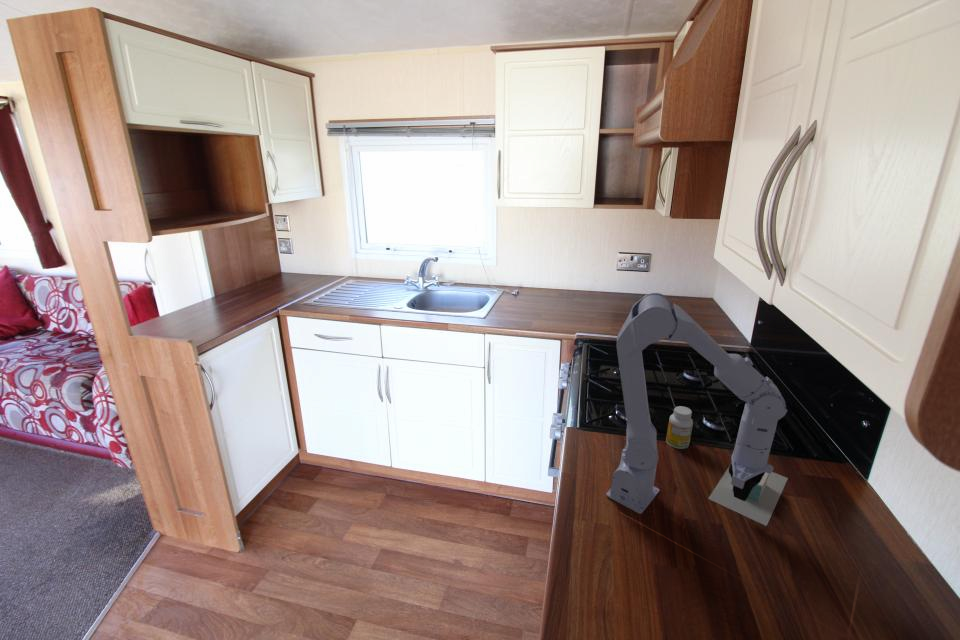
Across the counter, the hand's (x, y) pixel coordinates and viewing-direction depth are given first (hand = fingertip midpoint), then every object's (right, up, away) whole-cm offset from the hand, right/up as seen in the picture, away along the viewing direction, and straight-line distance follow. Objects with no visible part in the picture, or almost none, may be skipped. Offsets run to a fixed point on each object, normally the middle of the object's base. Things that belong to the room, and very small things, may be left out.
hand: (740, 497), depth 92 cm
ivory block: (+4, 0, +5) cm, 6 cm away
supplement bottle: (-3, +4, +24) cm, 24 cm away
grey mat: (+6, -1, +8) cm, 10 cm away
